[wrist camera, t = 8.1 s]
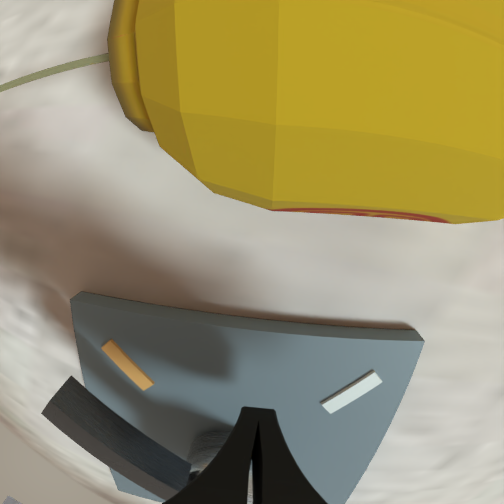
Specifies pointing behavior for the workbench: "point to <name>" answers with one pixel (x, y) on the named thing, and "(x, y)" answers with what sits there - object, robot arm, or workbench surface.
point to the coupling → (130, 443)
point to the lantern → (321, 100)
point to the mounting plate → (246, 381)
